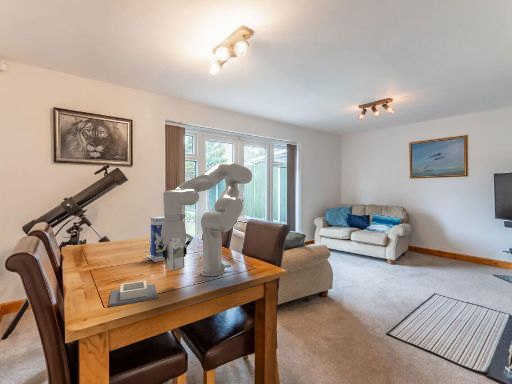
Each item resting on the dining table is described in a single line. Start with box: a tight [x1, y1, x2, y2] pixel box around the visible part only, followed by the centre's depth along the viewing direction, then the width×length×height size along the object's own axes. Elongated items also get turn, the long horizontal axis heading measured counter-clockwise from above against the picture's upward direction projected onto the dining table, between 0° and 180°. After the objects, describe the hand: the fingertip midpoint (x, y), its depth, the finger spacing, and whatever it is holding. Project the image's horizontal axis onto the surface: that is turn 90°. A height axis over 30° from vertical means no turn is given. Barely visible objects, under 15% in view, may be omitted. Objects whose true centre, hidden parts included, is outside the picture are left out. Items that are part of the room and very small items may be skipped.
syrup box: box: [165, 237, 185, 272], centre depth 118 cm, size 6×6×14 cm
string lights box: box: [150, 215, 166, 263], centre depth 161 cm, size 13×8×26 cm, turn 131°
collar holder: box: [108, 279, 159, 308], centre depth 108 cm, size 17×14×4 cm
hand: (174, 257), depth 118 cm, fingers closed on syrup box, 7 cm apart
